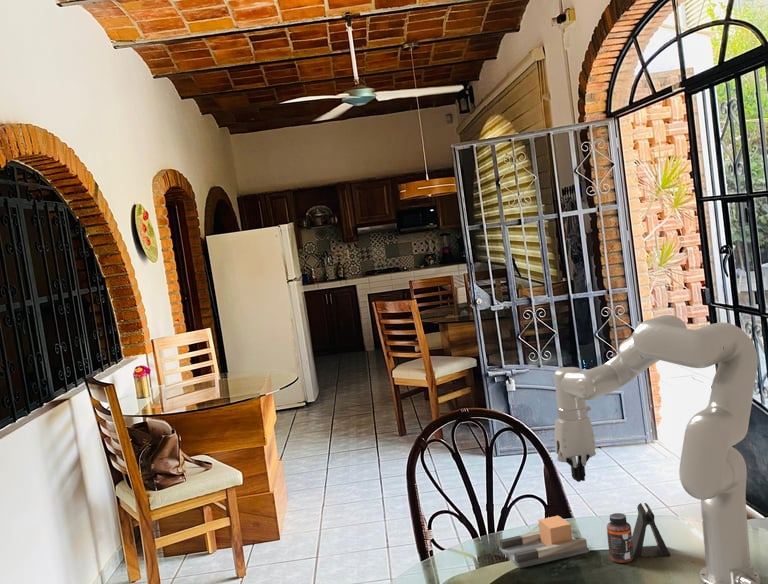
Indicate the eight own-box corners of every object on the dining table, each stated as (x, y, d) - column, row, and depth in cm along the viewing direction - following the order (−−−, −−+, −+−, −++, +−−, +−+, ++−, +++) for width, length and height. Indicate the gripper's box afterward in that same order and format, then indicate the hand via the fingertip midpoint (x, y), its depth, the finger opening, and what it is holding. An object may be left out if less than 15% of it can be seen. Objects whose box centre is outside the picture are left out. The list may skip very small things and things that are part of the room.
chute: (589, 551, 194) (588, 540, 194) (519, 568, 189) (518, 556, 189) (565, 534, 206) (564, 524, 206) (499, 549, 202) (498, 538, 202)
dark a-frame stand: (633, 558, 187) (629, 512, 187) (629, 548, 193) (625, 503, 193) (670, 556, 186) (666, 510, 185) (664, 546, 192) (660, 501, 191)
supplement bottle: (635, 563, 184) (631, 519, 184) (610, 564, 185) (606, 520, 185) (632, 553, 190) (628, 510, 189) (608, 554, 191) (604, 511, 191)
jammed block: (572, 546, 196) (570, 524, 196) (552, 550, 195) (550, 528, 194) (560, 536, 203) (558, 515, 202) (540, 541, 201) (538, 519, 201)
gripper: (590, 406, 204) (596, 471, 205) (540, 415, 200) (547, 481, 202) (604, 411, 197) (611, 478, 198) (553, 421, 193) (560, 489, 194)
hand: (579, 479), depth 200 cm, fingers closed
